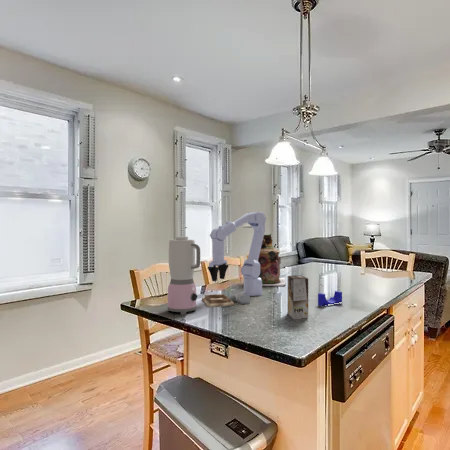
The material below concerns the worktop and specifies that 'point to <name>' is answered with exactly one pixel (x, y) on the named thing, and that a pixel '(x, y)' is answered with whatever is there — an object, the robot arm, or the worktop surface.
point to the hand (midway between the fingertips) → (218, 280)
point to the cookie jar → (270, 264)
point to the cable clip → (332, 300)
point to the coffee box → (298, 296)
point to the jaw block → (243, 298)
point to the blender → (182, 274)
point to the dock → (217, 300)
